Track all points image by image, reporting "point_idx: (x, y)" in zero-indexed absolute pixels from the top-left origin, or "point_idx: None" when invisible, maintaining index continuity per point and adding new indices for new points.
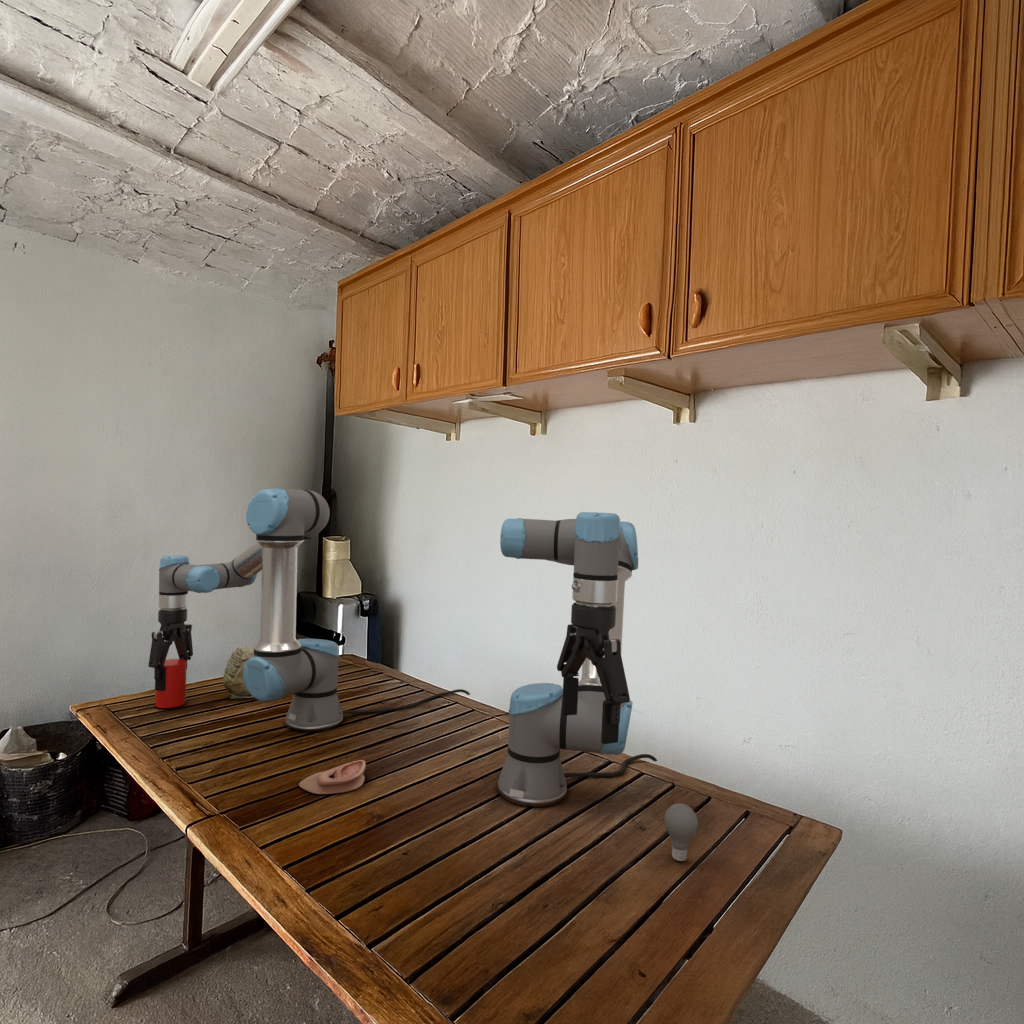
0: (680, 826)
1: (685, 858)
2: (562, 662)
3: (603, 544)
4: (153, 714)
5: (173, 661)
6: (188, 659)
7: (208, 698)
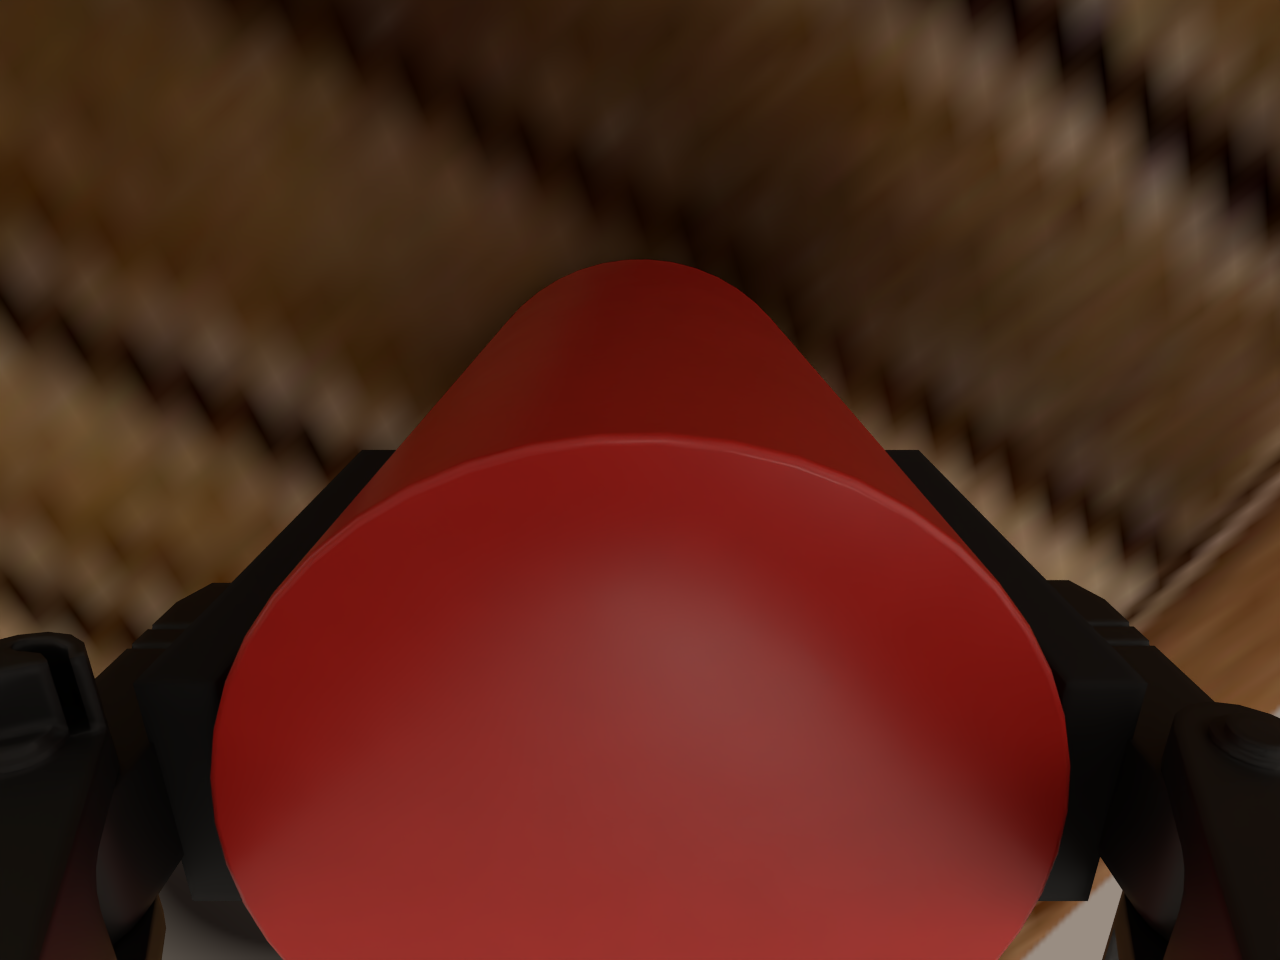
0: None
1: None
2: None
3: None
4: (966, 383)
5: (551, 841)
6: (83, 654)
7: (220, 160)
